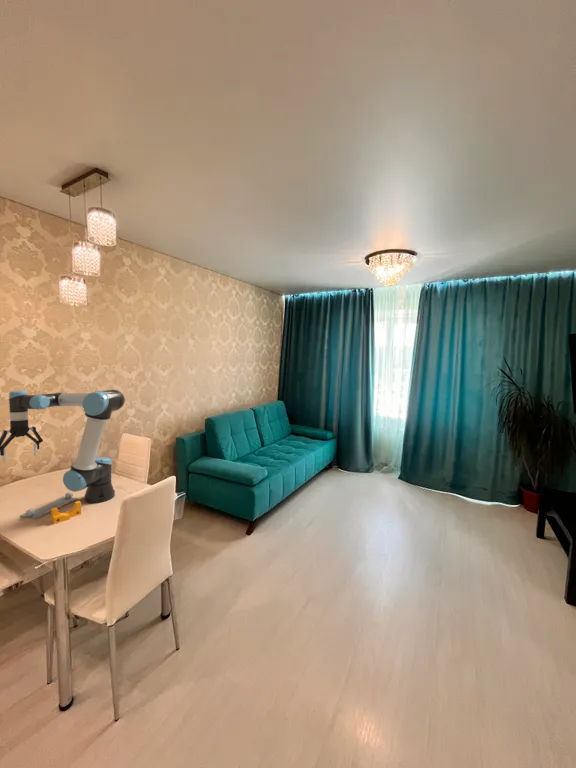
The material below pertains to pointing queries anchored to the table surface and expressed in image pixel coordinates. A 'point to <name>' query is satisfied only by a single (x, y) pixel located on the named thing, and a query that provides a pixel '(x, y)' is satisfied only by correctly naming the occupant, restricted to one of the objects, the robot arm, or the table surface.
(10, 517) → the table surface
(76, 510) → the pipe clamp
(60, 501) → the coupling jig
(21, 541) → the table surface
